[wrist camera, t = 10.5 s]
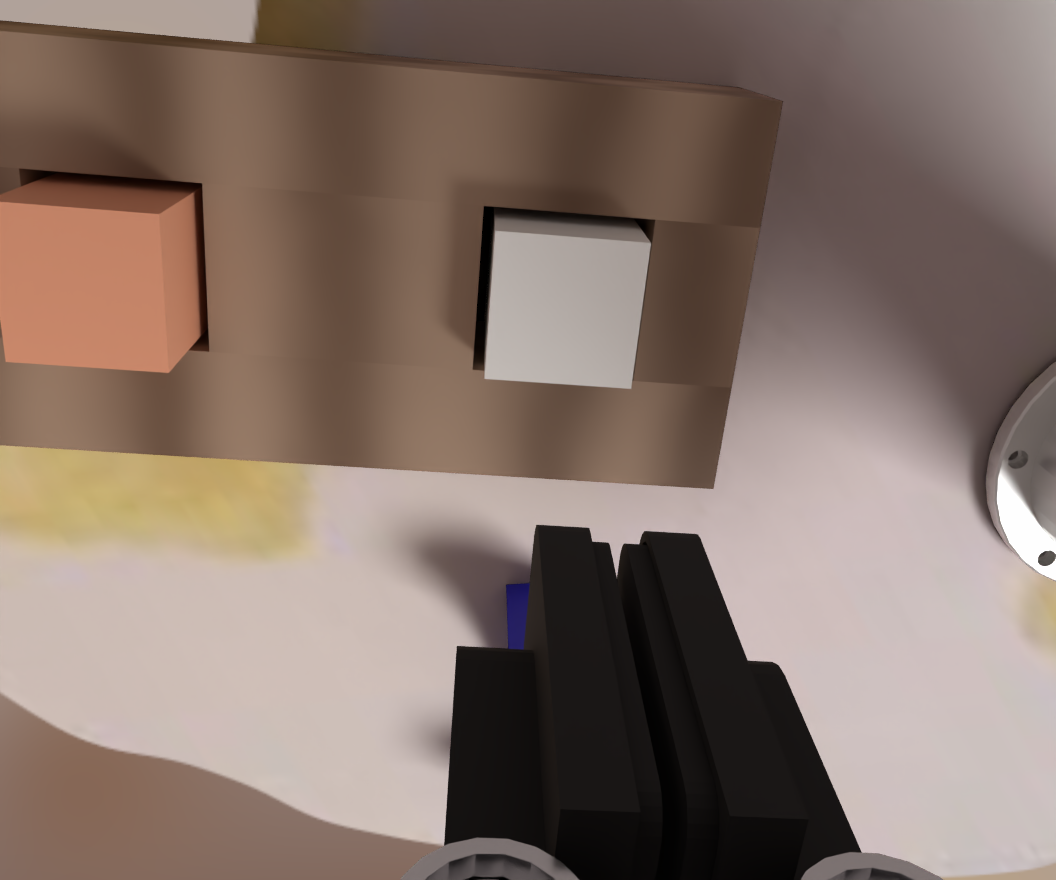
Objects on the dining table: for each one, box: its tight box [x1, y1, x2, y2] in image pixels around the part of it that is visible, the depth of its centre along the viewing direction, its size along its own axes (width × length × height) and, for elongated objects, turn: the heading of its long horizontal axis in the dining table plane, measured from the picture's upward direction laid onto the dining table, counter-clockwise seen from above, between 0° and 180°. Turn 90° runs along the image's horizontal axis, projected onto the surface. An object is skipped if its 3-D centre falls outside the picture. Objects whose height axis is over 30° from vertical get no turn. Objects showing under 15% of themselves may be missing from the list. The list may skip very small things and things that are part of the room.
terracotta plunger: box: [0, 172, 208, 373], centre depth 34 cm, size 5×5×8 cm
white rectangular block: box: [484, 207, 651, 389], centre depth 36 cm, size 5×5×8 cm
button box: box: [0, 21, 783, 489], centre depth 37 cm, size 28×14×6 cm, turn 85°
